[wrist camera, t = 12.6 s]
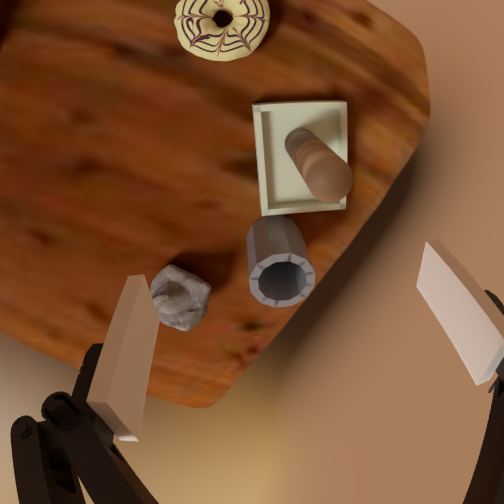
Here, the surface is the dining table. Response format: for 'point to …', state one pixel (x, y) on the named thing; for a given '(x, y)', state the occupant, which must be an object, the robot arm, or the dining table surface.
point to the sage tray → (279, 162)
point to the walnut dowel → (319, 166)
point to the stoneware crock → (278, 262)
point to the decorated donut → (221, 39)
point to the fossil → (180, 297)
